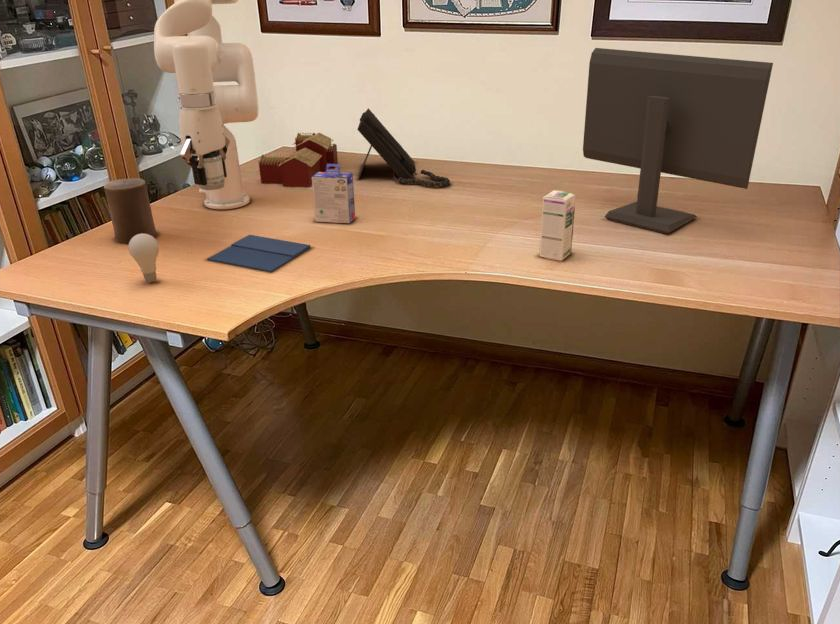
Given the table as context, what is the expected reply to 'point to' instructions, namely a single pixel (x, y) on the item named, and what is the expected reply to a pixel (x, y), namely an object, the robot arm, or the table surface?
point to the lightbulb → (145, 254)
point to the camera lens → (213, 171)
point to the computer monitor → (673, 123)
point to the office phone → (393, 152)
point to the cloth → (260, 253)
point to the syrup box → (557, 225)
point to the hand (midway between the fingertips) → (210, 180)
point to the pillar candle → (129, 208)
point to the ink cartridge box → (333, 196)
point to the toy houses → (299, 161)
